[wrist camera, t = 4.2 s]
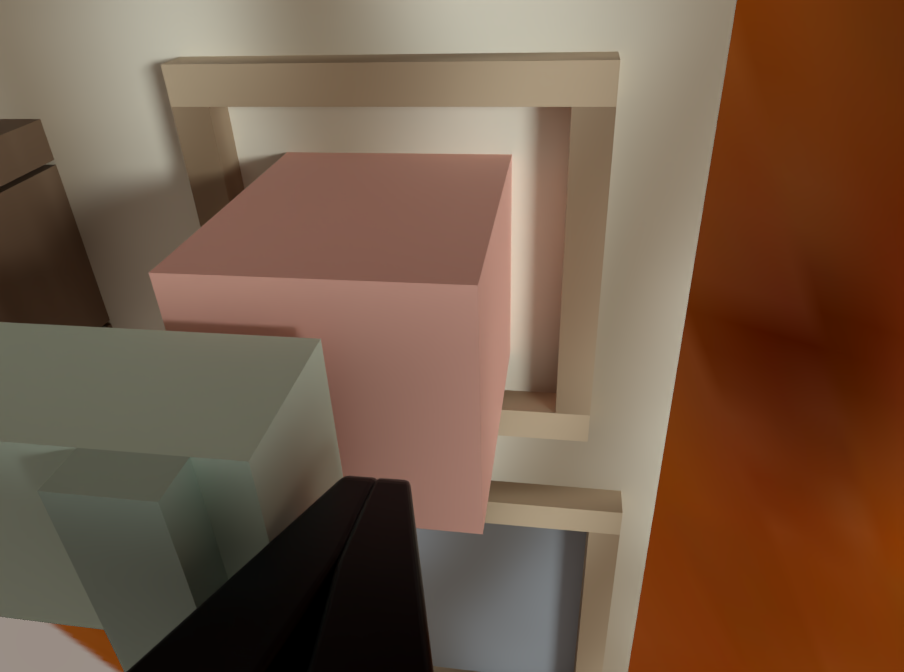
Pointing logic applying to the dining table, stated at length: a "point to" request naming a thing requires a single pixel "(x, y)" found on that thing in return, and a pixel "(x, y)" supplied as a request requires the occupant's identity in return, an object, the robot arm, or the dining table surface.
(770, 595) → the dining table surface
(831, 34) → the dining table surface
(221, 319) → the block
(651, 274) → the board
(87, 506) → the bar
